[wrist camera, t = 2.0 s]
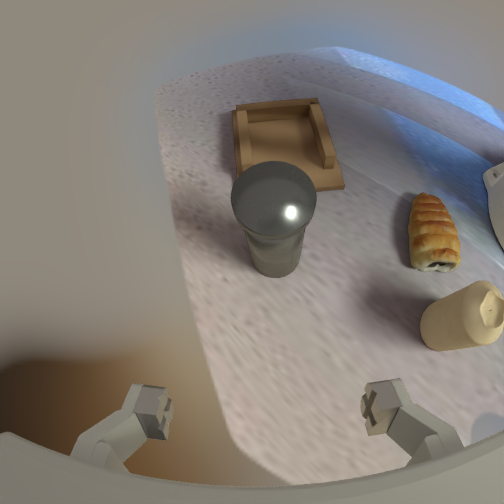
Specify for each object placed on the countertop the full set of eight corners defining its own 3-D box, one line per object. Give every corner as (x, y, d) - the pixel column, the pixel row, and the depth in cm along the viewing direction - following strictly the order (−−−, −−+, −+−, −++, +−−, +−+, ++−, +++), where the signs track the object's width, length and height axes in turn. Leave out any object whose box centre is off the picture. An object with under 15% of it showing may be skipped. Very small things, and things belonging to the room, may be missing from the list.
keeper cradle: (232, 114, 39) (229, 97, 36) (318, 106, 38) (319, 89, 35) (239, 199, 34) (235, 184, 31) (343, 189, 34) (348, 172, 31)
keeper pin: (282, 219, 33) (282, 148, 22) (315, 260, 31) (333, 204, 20) (237, 248, 32) (215, 187, 21) (268, 292, 30) (262, 251, 19)
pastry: (397, 198, 33) (408, 181, 29) (443, 202, 32) (456, 187, 29) (407, 274, 30) (422, 263, 26) (456, 274, 29) (473, 264, 26)
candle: (414, 306, 28) (464, 282, 19) (454, 296, 28) (507, 270, 19) (423, 357, 26) (477, 351, 17) (463, 344, 26) (520, 332, 17)
